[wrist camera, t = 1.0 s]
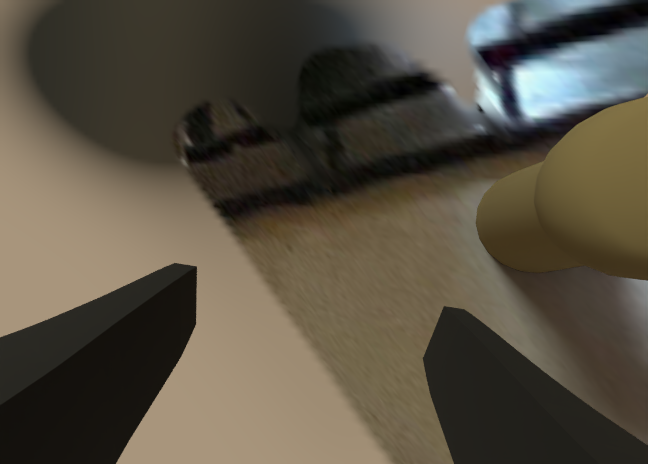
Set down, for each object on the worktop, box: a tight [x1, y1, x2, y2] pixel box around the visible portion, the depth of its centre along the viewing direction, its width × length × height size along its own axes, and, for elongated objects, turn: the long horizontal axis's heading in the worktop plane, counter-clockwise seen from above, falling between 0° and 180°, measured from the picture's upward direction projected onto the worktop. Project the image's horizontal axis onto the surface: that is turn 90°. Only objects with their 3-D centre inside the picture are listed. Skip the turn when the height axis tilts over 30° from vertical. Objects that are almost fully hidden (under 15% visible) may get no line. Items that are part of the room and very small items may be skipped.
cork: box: [476, 97, 648, 280], centre depth 12 cm, size 6×6×11 cm
